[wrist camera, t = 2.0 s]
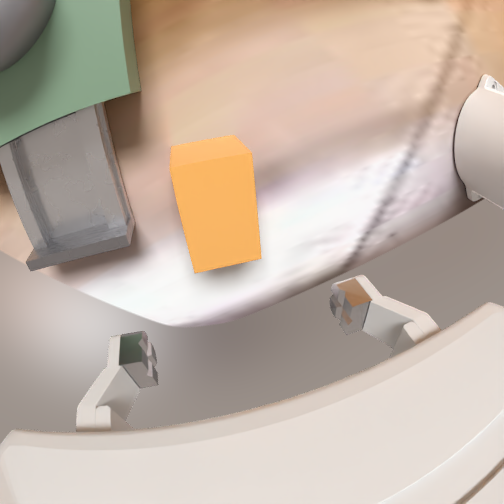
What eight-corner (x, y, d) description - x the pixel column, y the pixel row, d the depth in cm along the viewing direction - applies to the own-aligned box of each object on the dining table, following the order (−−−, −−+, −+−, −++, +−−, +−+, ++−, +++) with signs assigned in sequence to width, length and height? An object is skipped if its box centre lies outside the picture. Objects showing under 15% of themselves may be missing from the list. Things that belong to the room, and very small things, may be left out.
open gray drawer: (103, 101, 17) (89, 105, 14) (135, 222, 23) (129, 246, 20) (5, 143, 16) (-18, 156, 13) (44, 247, 22) (30, 271, 19)
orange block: (233, 134, 21) (251, 152, 17) (243, 220, 26) (261, 258, 21) (171, 146, 21) (169, 168, 16) (189, 232, 25) (194, 273, 21)
